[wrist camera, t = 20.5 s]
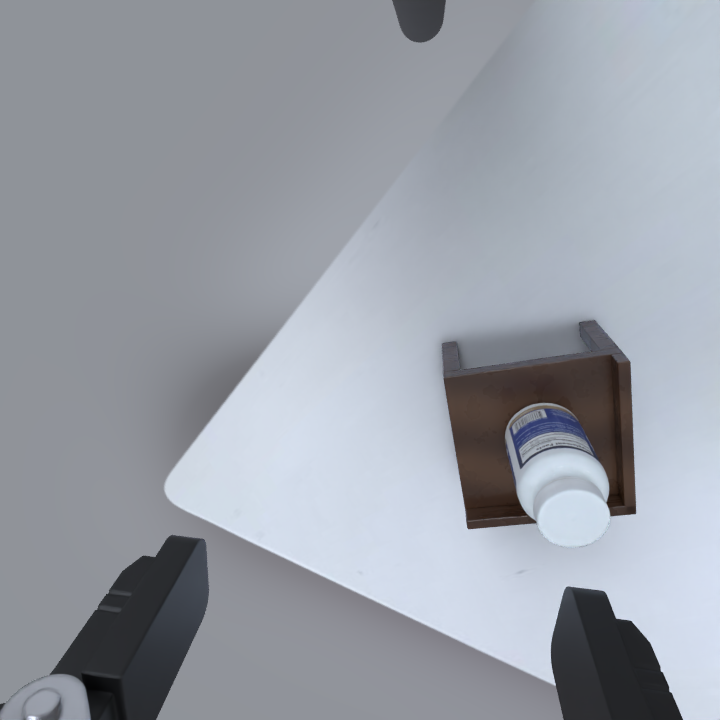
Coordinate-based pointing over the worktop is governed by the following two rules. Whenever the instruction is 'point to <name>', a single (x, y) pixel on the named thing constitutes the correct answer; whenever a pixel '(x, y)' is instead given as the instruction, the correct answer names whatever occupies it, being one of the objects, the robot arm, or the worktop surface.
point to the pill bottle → (558, 475)
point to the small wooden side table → (532, 386)
